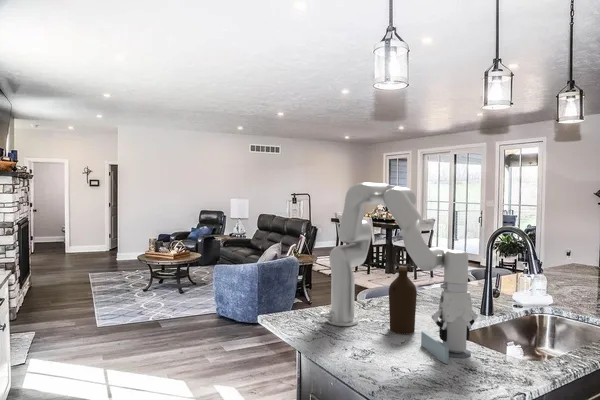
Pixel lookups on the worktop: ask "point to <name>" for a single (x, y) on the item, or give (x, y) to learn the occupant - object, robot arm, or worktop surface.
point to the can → (456, 335)
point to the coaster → (460, 354)
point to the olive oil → (402, 303)
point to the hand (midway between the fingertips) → (454, 339)
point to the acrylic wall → (435, 347)
